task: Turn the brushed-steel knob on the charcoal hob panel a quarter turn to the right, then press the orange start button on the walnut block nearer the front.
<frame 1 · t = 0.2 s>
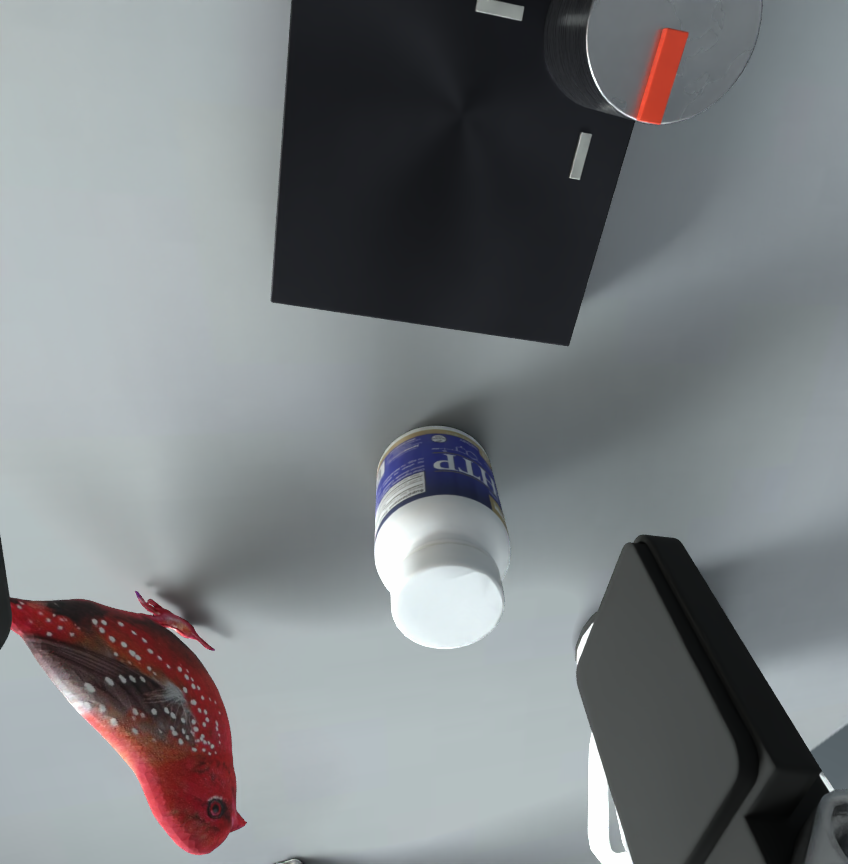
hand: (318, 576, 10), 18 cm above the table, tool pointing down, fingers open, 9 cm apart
decorative bird figurine: (145, 589, 34), on the table
pill bottle: (433, 469, 32), on the table
hob panel: (453, 109, 24), on the table
hob knob: (641, 30, 18), point 6 cm above the table, hinge at 0.0°
mug: (630, 648, 38), on the table
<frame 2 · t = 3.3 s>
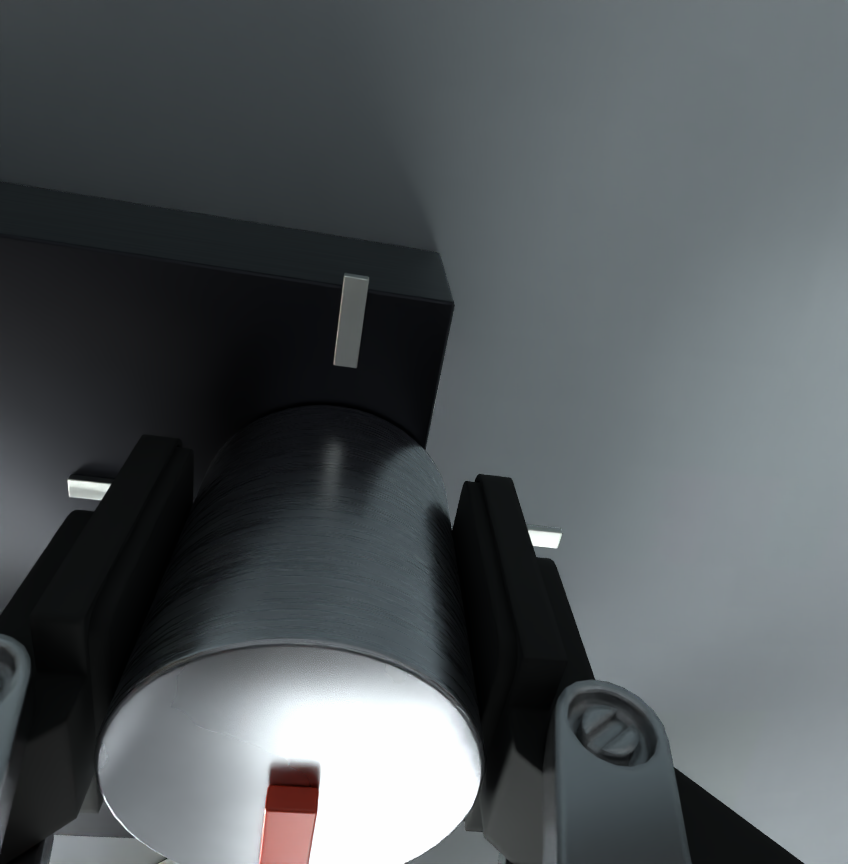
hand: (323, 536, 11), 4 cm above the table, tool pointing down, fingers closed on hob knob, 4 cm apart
hob panel: (143, 521, 15), on the table
hob knob: (313, 624, 9), point 6 cm above the table, hinge at -0.2°, touching gripper
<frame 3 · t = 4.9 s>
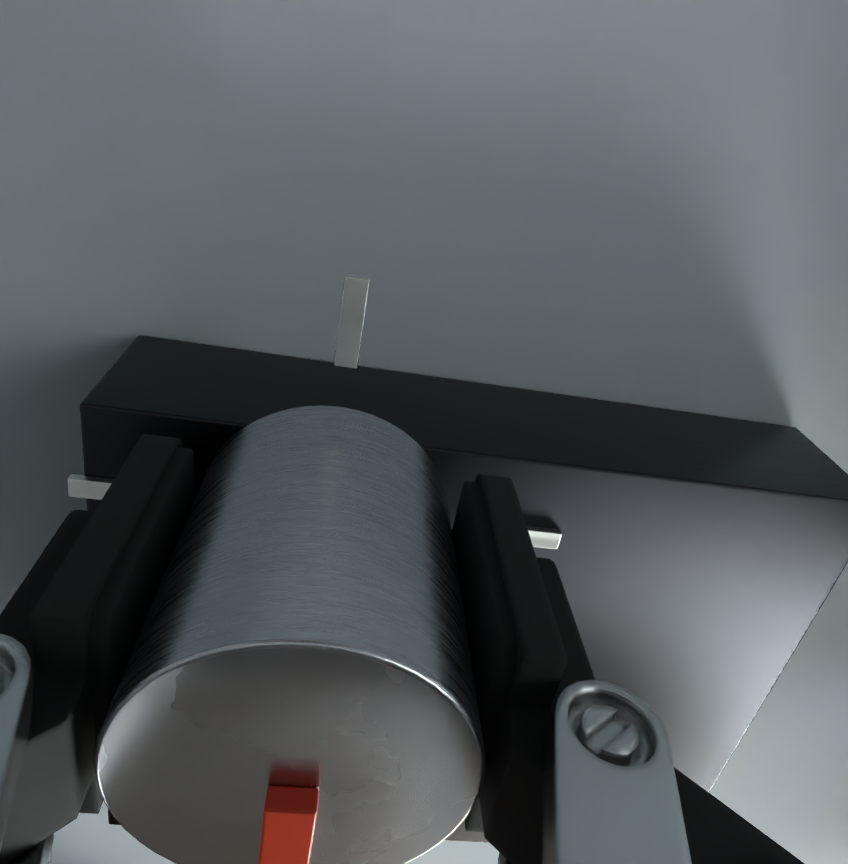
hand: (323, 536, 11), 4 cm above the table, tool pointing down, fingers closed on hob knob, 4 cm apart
hob panel: (439, 585, 17), on the table
hob knob: (312, 624, 9), point 6 cm above the table, hinge at -89.7°, touching gripper
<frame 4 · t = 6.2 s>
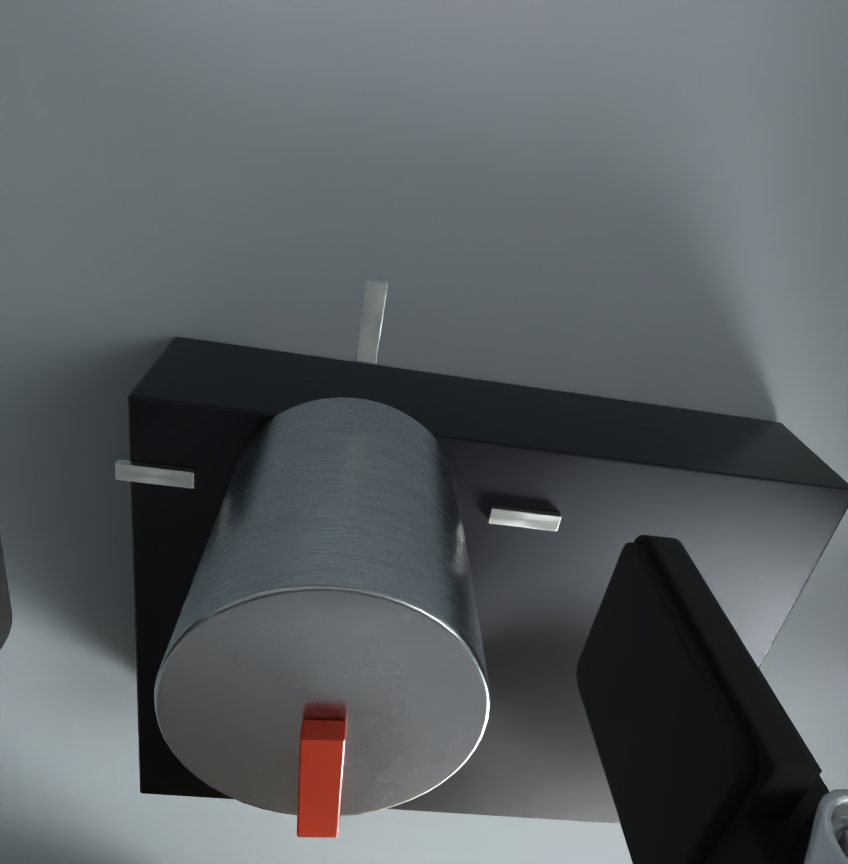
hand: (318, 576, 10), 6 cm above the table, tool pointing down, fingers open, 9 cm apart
hob panel: (448, 571, 18), on the table
hob knob: (337, 589, 11), point 6 cm above the table, hinge at -86.2°
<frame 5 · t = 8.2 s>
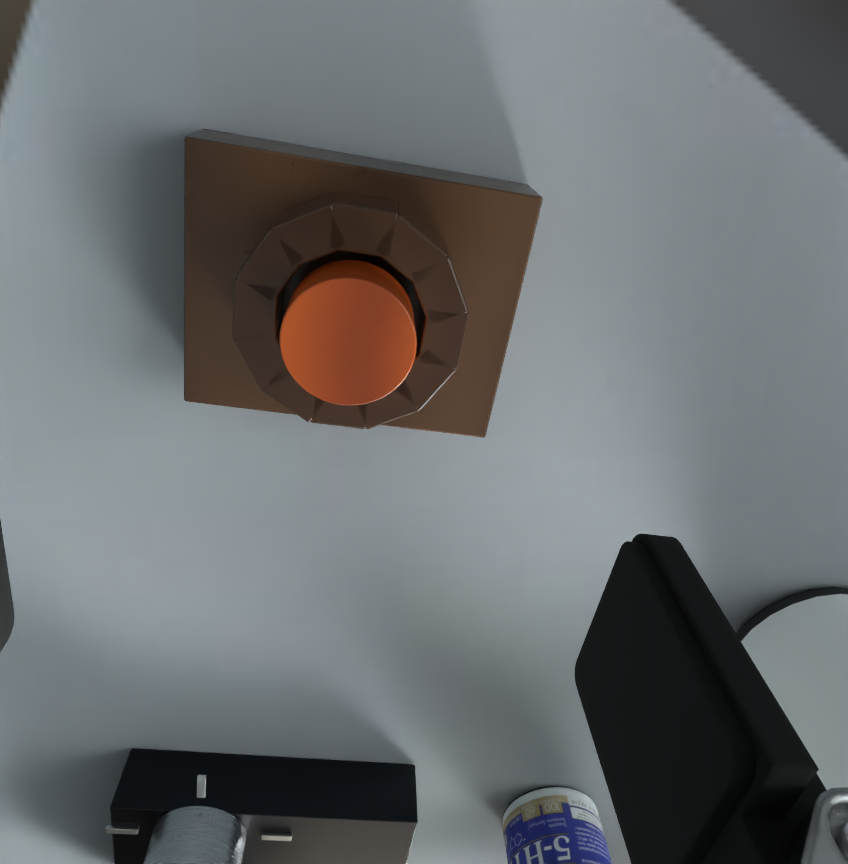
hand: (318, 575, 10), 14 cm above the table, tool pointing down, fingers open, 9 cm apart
button block: (355, 284, 23), on the table
pill bottle: (547, 810, 38), on the table
hob panel: (270, 822, 37), on the table
mug: (813, 657, 33), on the table
start button: (349, 333, 19), point 5 cm above the table, slide at 0.2 cm
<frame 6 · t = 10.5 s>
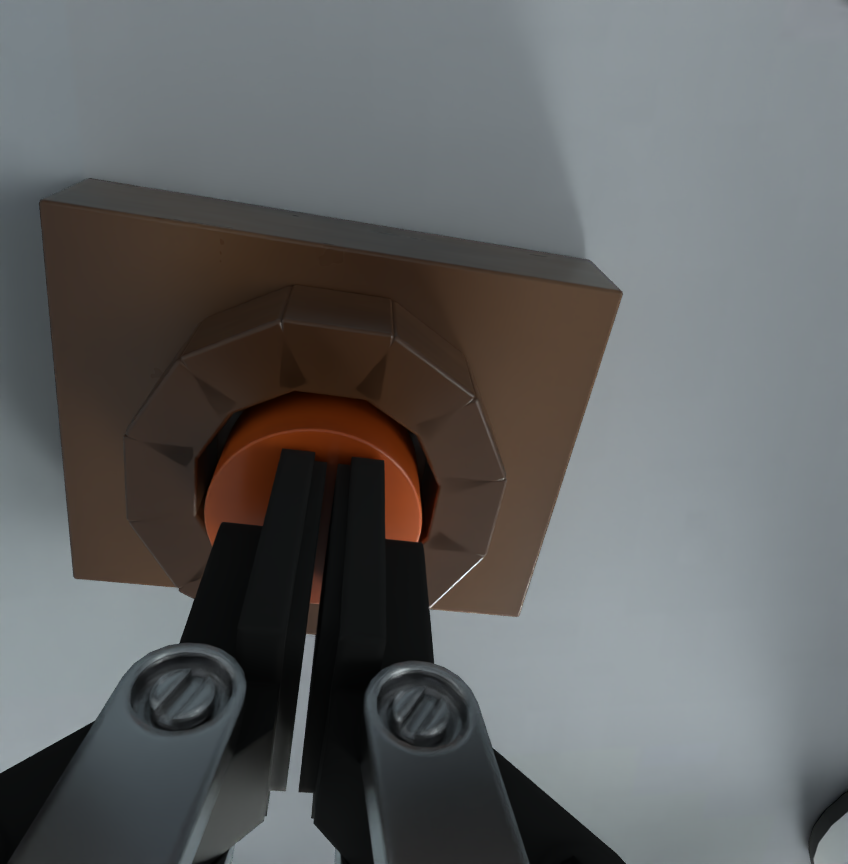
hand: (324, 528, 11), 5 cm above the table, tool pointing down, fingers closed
button block: (330, 399, 15), on the table
start button: (318, 494, 12), point 4 cm above the table, slide at -0.6 cm, touching gripper
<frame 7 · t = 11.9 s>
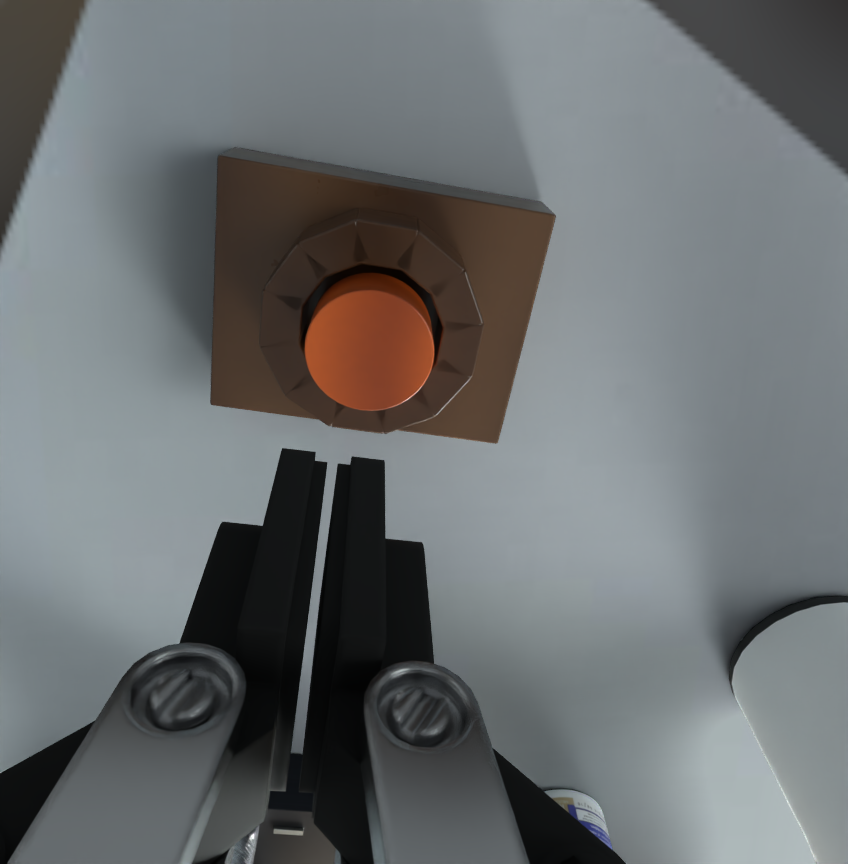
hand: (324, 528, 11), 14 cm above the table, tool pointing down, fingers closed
button block: (374, 295, 24), on the table
pill bottle: (553, 812, 38), on the table
hob panel: (281, 818, 37), on the table
mug: (818, 664, 33), on the table
start button: (370, 342, 20), point 5 cm above the table, slide at 0.1 cm
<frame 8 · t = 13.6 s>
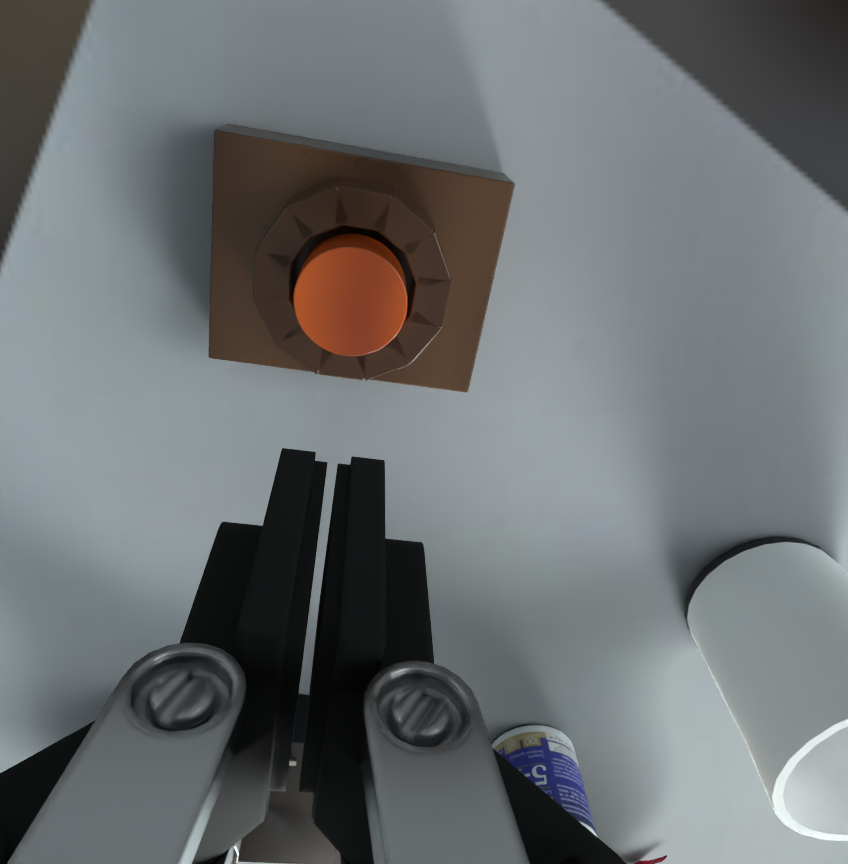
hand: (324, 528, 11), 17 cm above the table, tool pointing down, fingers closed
button block: (356, 258, 26), on the table
pill bottle: (528, 748, 41), on the table
hob panel: (275, 757, 40), on the table
hob knob: (202, 806, 33), point 6 cm above the table, hinge at -86.2°
mug: (766, 603, 37), on the table
start button: (351, 295, 22), point 5 cm above the table, slide at 0.1 cm
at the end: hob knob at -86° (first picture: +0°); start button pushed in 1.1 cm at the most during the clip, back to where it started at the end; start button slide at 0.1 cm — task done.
